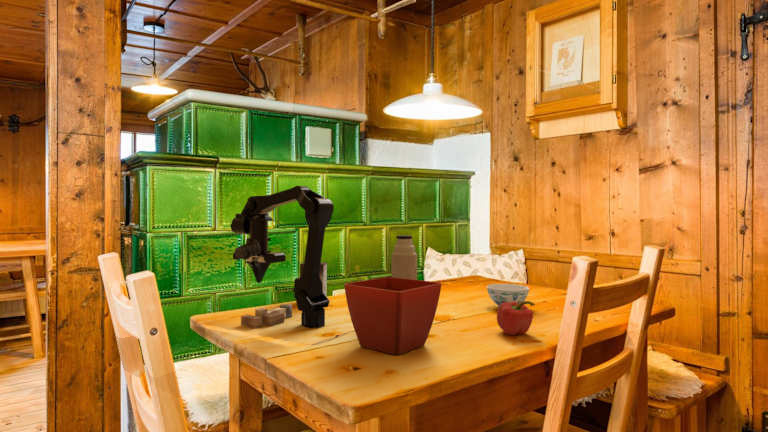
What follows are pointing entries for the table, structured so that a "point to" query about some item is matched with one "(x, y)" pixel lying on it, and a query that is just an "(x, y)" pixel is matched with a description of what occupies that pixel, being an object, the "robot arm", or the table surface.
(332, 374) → the table surface
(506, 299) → the chinaware
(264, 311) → the leg
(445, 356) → the table surface
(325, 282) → the coffee box
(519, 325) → the vegetable
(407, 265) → the thermos bottle
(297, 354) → the table surface
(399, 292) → the plant pot
